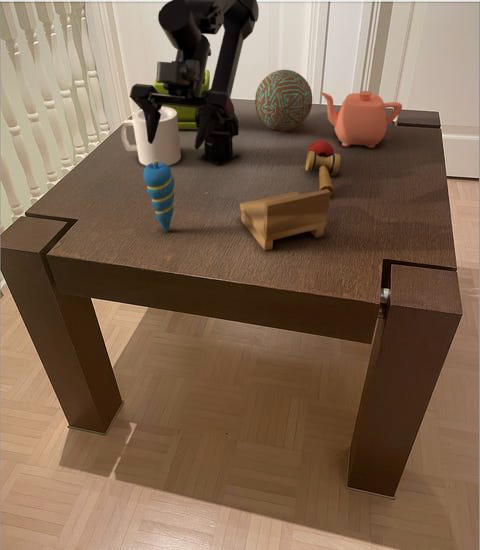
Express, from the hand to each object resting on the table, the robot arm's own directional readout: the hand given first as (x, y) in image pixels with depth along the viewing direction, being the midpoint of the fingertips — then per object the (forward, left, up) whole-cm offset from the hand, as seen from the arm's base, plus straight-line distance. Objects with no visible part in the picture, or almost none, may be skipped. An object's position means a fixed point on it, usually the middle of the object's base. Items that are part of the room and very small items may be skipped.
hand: (172, 145), depth 84 cm
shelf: (-8, +20, -14) cm, 25 cm away
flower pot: (-33, -32, -14) cm, 48 cm away
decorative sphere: (-47, -9, -14) cm, 50 cm away
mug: (-13, -22, -14) cm, 29 cm away
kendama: (-30, +15, -14) cm, 36 cm away
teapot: (-53, +10, -14) cm, 56 cm away
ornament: (+7, +4, -14) cm, 16 cm away
